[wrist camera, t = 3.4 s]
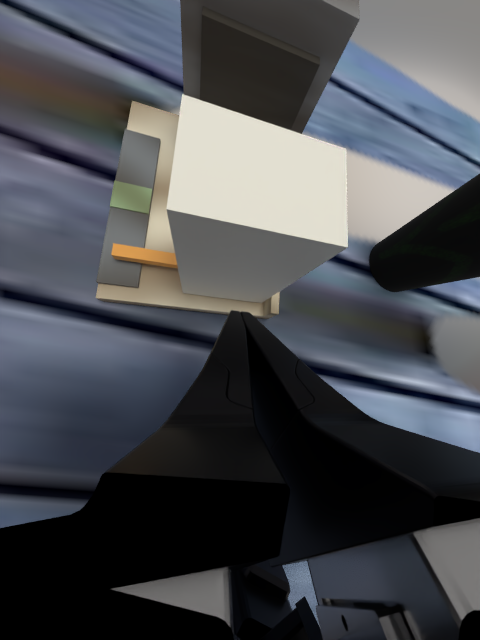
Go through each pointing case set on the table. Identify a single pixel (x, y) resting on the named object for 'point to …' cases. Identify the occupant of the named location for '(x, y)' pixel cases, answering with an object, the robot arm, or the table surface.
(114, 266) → the frame
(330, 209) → the gauge slider
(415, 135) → the table surface
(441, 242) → the cup
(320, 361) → the table surface
